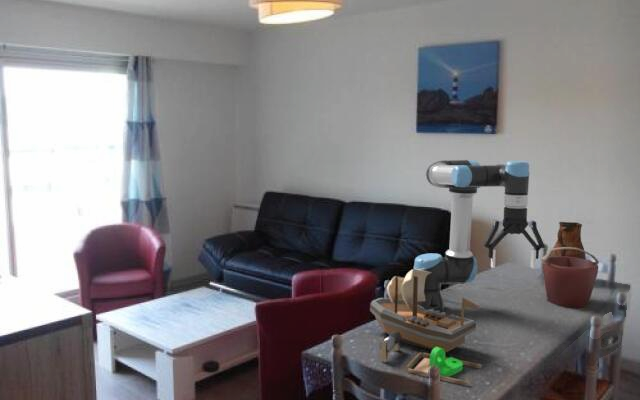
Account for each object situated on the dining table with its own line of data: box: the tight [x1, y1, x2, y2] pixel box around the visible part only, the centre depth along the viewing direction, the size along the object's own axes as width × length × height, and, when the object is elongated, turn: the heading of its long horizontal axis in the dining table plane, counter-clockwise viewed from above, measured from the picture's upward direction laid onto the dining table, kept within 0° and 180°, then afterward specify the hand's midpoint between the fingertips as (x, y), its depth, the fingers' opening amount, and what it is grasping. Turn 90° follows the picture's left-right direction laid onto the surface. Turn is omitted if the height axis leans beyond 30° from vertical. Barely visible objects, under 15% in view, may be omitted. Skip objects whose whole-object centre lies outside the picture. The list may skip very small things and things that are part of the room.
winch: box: [379, 330, 402, 363], centre depth 200 cm, size 4×13×7 cm, turn 151°
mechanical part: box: [429, 347, 464, 378], centre depth 188 cm, size 12×6×8 cm, turn 131°
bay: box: [405, 351, 482, 387], centre depth 189 cm, size 21×15×2 cm
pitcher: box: [550, 221, 587, 259], centre depth 291 cm, size 17×21×30 cm
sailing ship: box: [369, 268, 481, 353], centre depth 210 cm, size 16×45×27 cm, turn 47°
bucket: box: [540, 247, 600, 309], centre depth 259 cm, size 24×22×25 cm
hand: (512, 267), depth 198 cm, fingers open, 13 cm apart
